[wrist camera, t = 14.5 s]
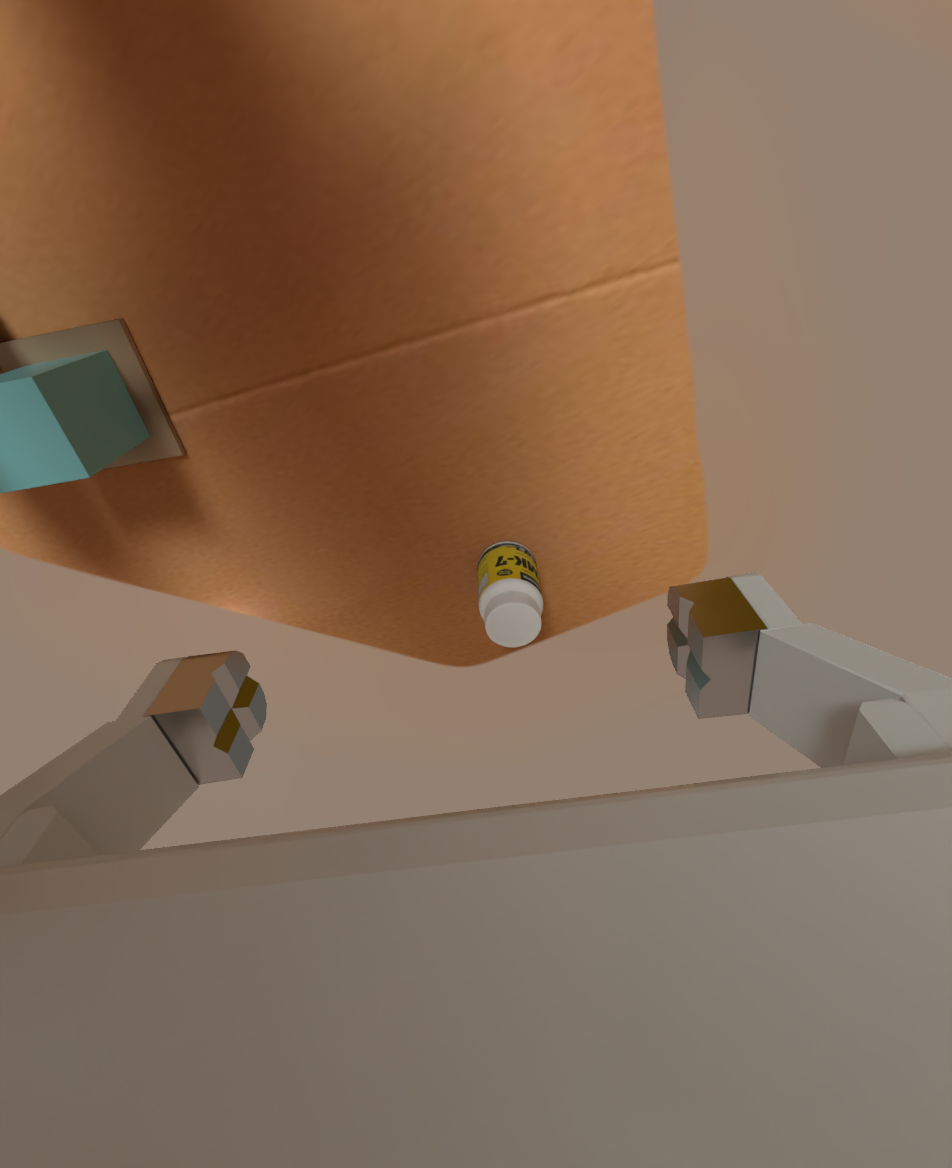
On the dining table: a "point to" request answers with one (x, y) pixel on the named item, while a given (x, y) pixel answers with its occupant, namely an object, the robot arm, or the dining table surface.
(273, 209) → the dining table surface
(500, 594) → the supplement bottle
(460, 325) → the dining table surface
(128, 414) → the teal rectangular block
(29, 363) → the flat square base
